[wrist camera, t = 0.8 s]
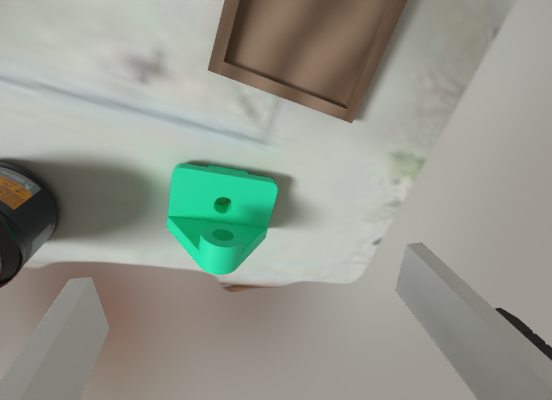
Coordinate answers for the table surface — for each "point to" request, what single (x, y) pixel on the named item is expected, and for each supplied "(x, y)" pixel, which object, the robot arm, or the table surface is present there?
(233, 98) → the table surface
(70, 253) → the table surface
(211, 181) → the camera mount
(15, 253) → the supplement container
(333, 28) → the tray
